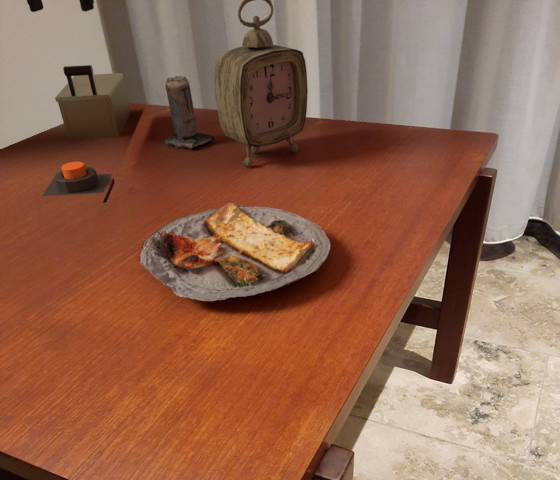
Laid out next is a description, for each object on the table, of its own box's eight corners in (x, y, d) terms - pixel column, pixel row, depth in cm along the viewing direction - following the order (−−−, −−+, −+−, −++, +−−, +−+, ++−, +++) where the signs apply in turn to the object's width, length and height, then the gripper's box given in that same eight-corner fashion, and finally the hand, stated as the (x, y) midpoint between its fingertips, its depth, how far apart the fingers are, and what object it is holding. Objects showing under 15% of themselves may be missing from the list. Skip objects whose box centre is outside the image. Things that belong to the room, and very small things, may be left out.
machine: (120, 145, 110) (110, 98, 104) (70, 148, 110) (57, 100, 104) (132, 121, 122) (123, 77, 116) (86, 123, 122) (75, 79, 116)
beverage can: (160, 148, 108) (149, 80, 100) (180, 135, 114) (171, 70, 106) (201, 152, 106) (192, 84, 98) (219, 139, 111) (212, 73, 103)
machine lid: (109, 99, 104) (102, 67, 100) (56, 102, 104) (47, 70, 100) (123, 77, 116) (117, 47, 113) (75, 79, 116) (68, 50, 112)
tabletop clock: (245, 173, 97) (232, 3, 81) (216, 159, 103) (199, -2, 86) (307, 152, 104) (307, -9, 87) (277, 140, 109) (272, -13, 93)
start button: (62, 181, 89) (58, 170, 88) (67, 172, 92) (64, 162, 91) (84, 179, 89) (81, 169, 88) (89, 171, 92) (86, 160, 91)
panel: (44, 206, 90) (37, 185, 87) (56, 186, 96) (50, 166, 93) (106, 202, 90) (101, 181, 88) (114, 183, 96) (110, 163, 94)
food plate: (115, 253, 77) (109, 229, 75) (252, 205, 87) (250, 183, 85) (210, 336, 62) (206, 310, 59) (362, 266, 72) (364, 241, 70)
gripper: (-37, -121, 83) (5, 14, 94) (68, -127, 79) (98, 13, 91) (-7, -121, 88) (29, 7, 99) (92, -127, 85) (118, 6, 96)
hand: (62, 10), depth 95 cm, fingers open, 9 cm apart
